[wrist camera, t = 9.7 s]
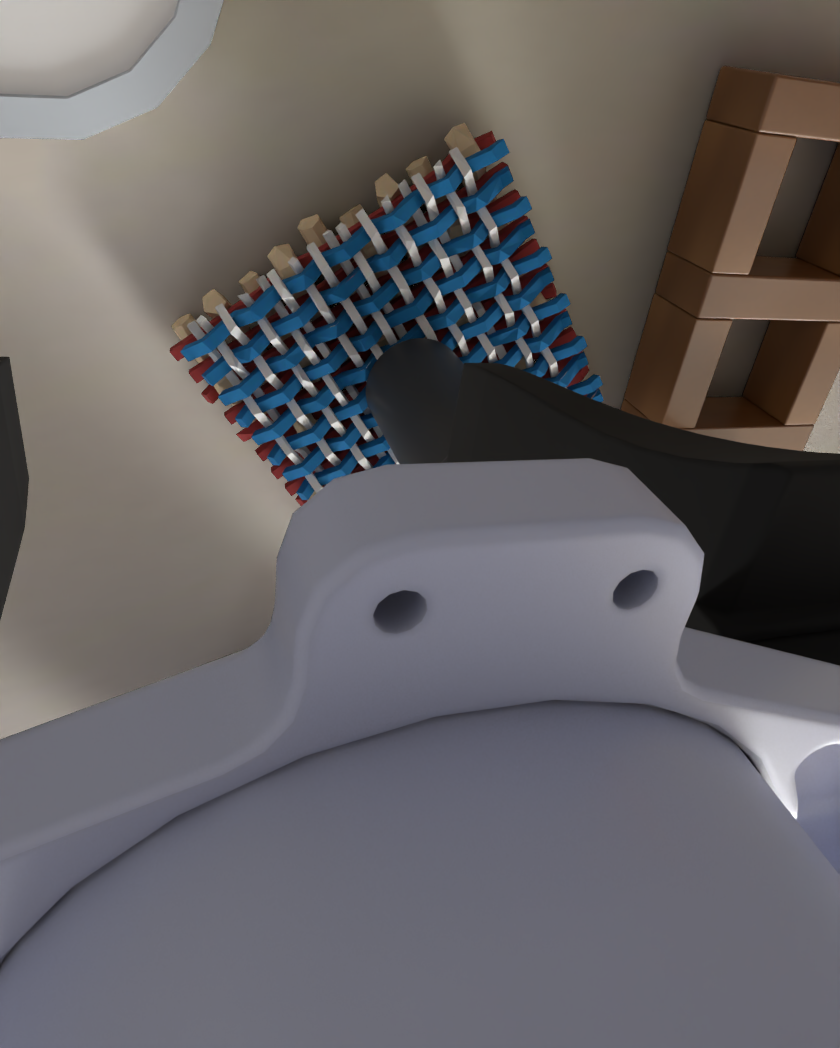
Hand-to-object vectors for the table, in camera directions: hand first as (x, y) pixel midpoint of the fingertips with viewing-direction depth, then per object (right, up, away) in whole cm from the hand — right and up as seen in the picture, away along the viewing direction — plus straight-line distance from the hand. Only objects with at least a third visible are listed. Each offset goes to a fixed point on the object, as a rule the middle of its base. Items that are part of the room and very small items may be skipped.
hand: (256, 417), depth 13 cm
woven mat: (+2, +4, +12) cm, 12 cm away
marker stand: (+13, +5, +15) cm, 21 cm away
